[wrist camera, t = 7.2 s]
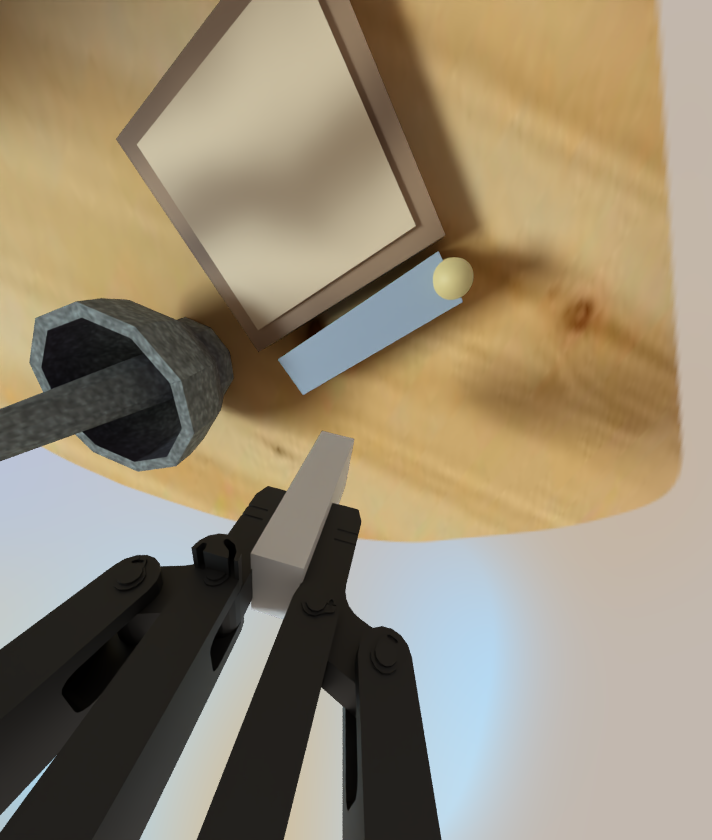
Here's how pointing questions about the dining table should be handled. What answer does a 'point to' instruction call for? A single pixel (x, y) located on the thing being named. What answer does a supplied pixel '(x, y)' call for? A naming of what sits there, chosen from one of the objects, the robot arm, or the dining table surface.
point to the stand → (282, 161)
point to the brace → (380, 320)
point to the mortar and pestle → (120, 384)
